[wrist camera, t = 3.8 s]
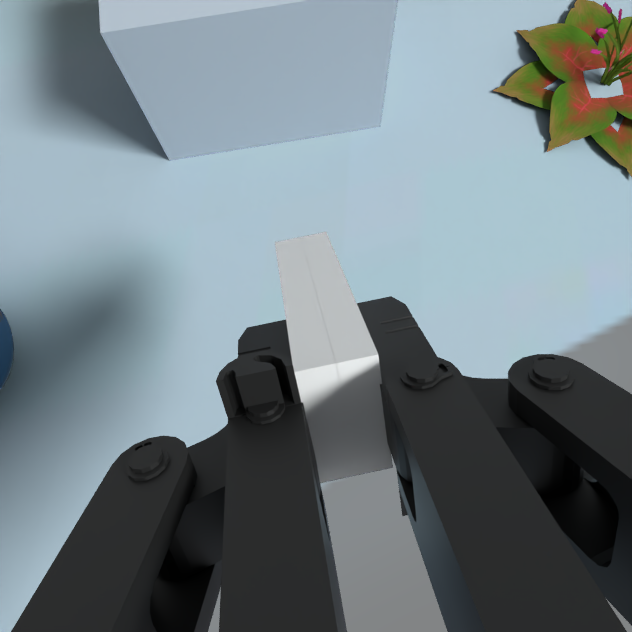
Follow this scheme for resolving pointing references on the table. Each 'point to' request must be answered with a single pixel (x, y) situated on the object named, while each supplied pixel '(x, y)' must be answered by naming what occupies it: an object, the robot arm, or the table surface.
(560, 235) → the table surface
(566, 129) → the lily flower
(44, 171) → the table surface
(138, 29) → the white block
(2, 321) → the soda can
